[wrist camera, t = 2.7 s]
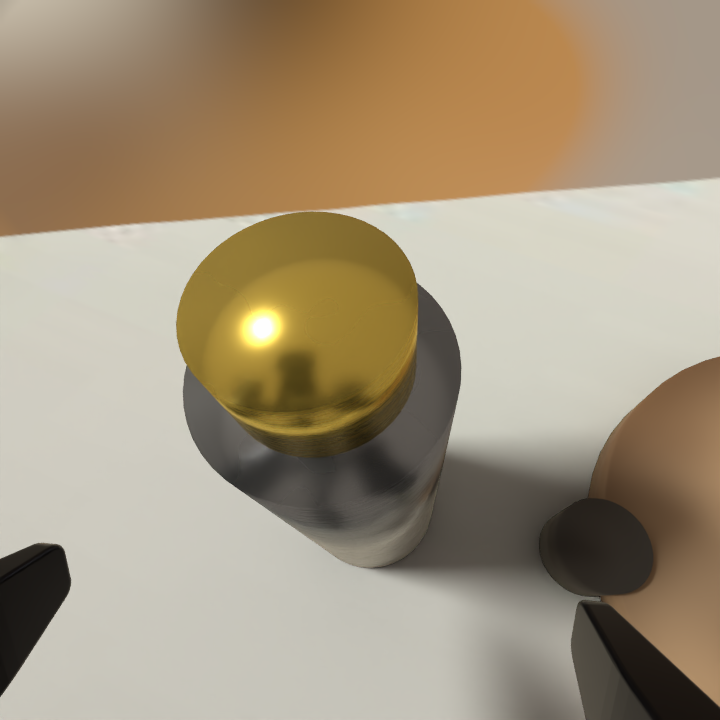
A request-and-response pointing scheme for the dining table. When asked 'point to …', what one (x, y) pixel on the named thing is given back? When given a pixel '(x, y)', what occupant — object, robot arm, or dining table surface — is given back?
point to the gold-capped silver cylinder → (322, 380)
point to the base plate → (655, 524)
